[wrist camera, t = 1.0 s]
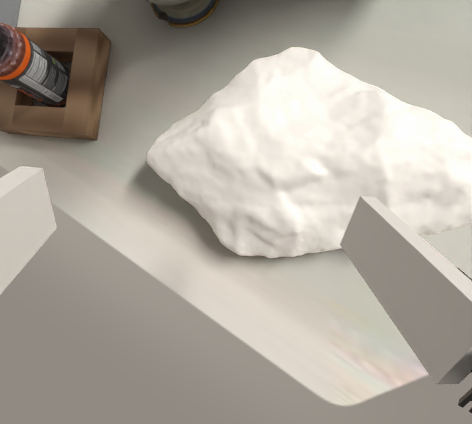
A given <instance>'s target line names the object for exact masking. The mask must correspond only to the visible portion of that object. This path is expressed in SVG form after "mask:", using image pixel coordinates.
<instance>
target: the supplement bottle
mask: <svg viewBox="0 0 472 424" xmlns="http://www.w3.org/2000/svg"><path fill="white" fill-rule="evenodd" d="M70 73H71V72H70V71H69V70H68V69H67V68H66V67H65V66H64V65H62V64H61V63H60V62H58V61H57V60H56V59H55V58H53V57H52V56H51V55H50V54H48V53H47V52H46V51H44V50H43V49H42V48H40V47H39V46H38V45H37V44H35V43H34V42H33V41H31V40H30V39H29V38H28V37H26V36H25V35H24V34H22V33H21V32H20V31H18V30H17V29H15V28H14V27H12V26H10V25H8V24H4V23H0V80H1V81H3V82H4V83H6V84H8V85H10V86H12V87H14V88H16V89H18V90H20V91H21V92H23V93H25V94H27V95H29V96H31V97H32V98H34V99H36V100H38V101H40V102H41V103H43V104H46V105H48V106H52V107H59V106H62V105H64V104H66V100H67V94H68V87H69V80H70Z"/></svg>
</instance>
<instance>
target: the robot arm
mask: <svg viewBox="0 0 472 424" xmlns="http://www.w3.org/2000/svg"><path fill="white" fill-rule="evenodd" d="M56 229H57V226H56V222H55V218H54V214H53V210H52V205H51V201H50V197H49V192H48V188H47V184H46V180H45V176H44V171H43V168H38V167H26V166H19V167H18V168H16V169H15V170H13V171H11V172H10V173H8V174H6V175H5V176H3V177H2V178H0V294H1V293H2V292H3V291H4V290H5V289H6V287H7V286H8V285H9V284H10V283H11V281H12V280H13V279H14V278H15V277H16V275H17V274H18V273H19V272H20V271H21V270H22V269H23V267H24V266H25V265H26V264H27V263H28V261H29V260H30V259H31V258H32V257H33V256H34V254H35V253H36V252H37V251H38V250H39V249H40V247H41V246H42V245H43V244H44V243H45V241H46V240H47V239H48V238H49V237H50V235H51V234H52V233H53V232H54V231H55V230H56ZM340 245H341V247H342V248H343V250H344V251H345V253H346V254H347V256H348V257H349V258H350V260H351V261H352V263H353V264H354V266H355V267H356V269H357V270H358V272H359V273H360V274H361V276H362V277H363V279H364V280H365V282H366V283H367V285H368V286H369V288H370V289H371V290H372V292H373V293H374V295H375V296H376V298H377V299H378V301H379V302H380V304H381V305H382V306H383V308H384V309H385V311H386V312H387V314H388V315H389V317H390V318H391V320H392V321H393V322H394V324H395V325H396V327H397V328H398V330H399V331H400V333H401V334H402V336H403V337H404V338H405V340H406V341H407V343H408V344H409V346H410V347H411V349H412V350H413V352H414V353H415V354H416V356H417V357H418V359H419V360H420V362H421V363H422V365H423V366H424V368H425V369H426V371H427V372H428V373H429V375H430V376H431V377H432V379H433V381H434V382H435V384H459V383H460V382H461V381H462V380H463V379H464V378H465V377H466V376H467V375H468V374H469V373H470V372H472V279H471V278H469V277H468V276H467V275H466V274H465V273H464V272H462V271H461V270H460V269H459V268H457V267H455V266H454V265H453V264H452V263H451V262H449V261H448V260H447V259H446V258H445V257H444V256H442V255H441V254H440V253H439V252H438V251H437V250H436V249H434V248H433V247H432V246H431V245H430V244H429V243H427V242H426V241H425V240H424V239H423V238H422V237H421V236H419V235H418V234H417V233H416V232H415V231H414V230H413V229H411V228H410V227H409V226H408V225H407V224H406V223H404V222H403V221H402V220H401V219H400V218H399V217H398V216H396V215H395V214H394V213H393V212H392V211H391V210H389V209H388V208H387V207H386V206H385V205H384V204H383V203H381V202H380V201H379V200H378V199H377V198H376V197H366V196H360V197H359V200H358V202H357V205H356V207H355V209H354V212H353V214H352V217H351V219H350V221H349V224H348V226H347V229H346V231H345V233H344V236H343V238H342V241H341V243H340ZM469 401H472V388H471V389H470V390H469V391H468V392H467V393H466V394H465V395H464V396H463V397H462V398H460V400H459V404H458V405H459V406H461V407H464V406H465V405H466V404H467V403H468V402H469ZM469 412H471V413H472V408H471V409H470V410H469Z"/></svg>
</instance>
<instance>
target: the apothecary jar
mask: <svg viewBox="0 0 472 424" xmlns="http://www.w3.org/2000/svg"><path fill="white" fill-rule="evenodd" d="M147 1H149V2H151V6H152V8H153V11H154V12H155V14H156V16H157V17H158V18H159V19H164V20H167V21H168V22H169V25H171V26H174V27H183V28H184V27H189V26H193V25H196V24H198V23H200V22H202V21H203V20H205V19H206V18H207V17H208V16H209V15H210V14H211V13H212V12H213V10H214V9H215V7H216V6H217V3H218V1H219V0H147Z"/></svg>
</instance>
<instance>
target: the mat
mask: <svg viewBox="0 0 472 424" xmlns="http://www.w3.org/2000/svg"><path fill="white" fill-rule="evenodd" d="M20 2H21V0H0V23H4V24H8V25H10V26H12V27H17V21H18V15H19V8H20Z"/></svg>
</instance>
